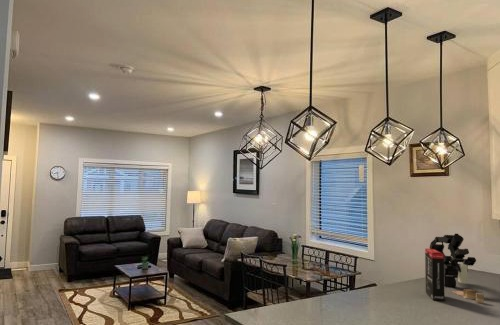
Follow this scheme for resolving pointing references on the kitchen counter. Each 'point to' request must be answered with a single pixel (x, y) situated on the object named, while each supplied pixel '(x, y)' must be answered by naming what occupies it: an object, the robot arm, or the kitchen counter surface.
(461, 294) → the tile
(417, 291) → the kitchen counter surface
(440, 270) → the graphics card box
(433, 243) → the robot arm
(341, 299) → the kitchen counter surface
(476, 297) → the rack
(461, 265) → the pale green block
